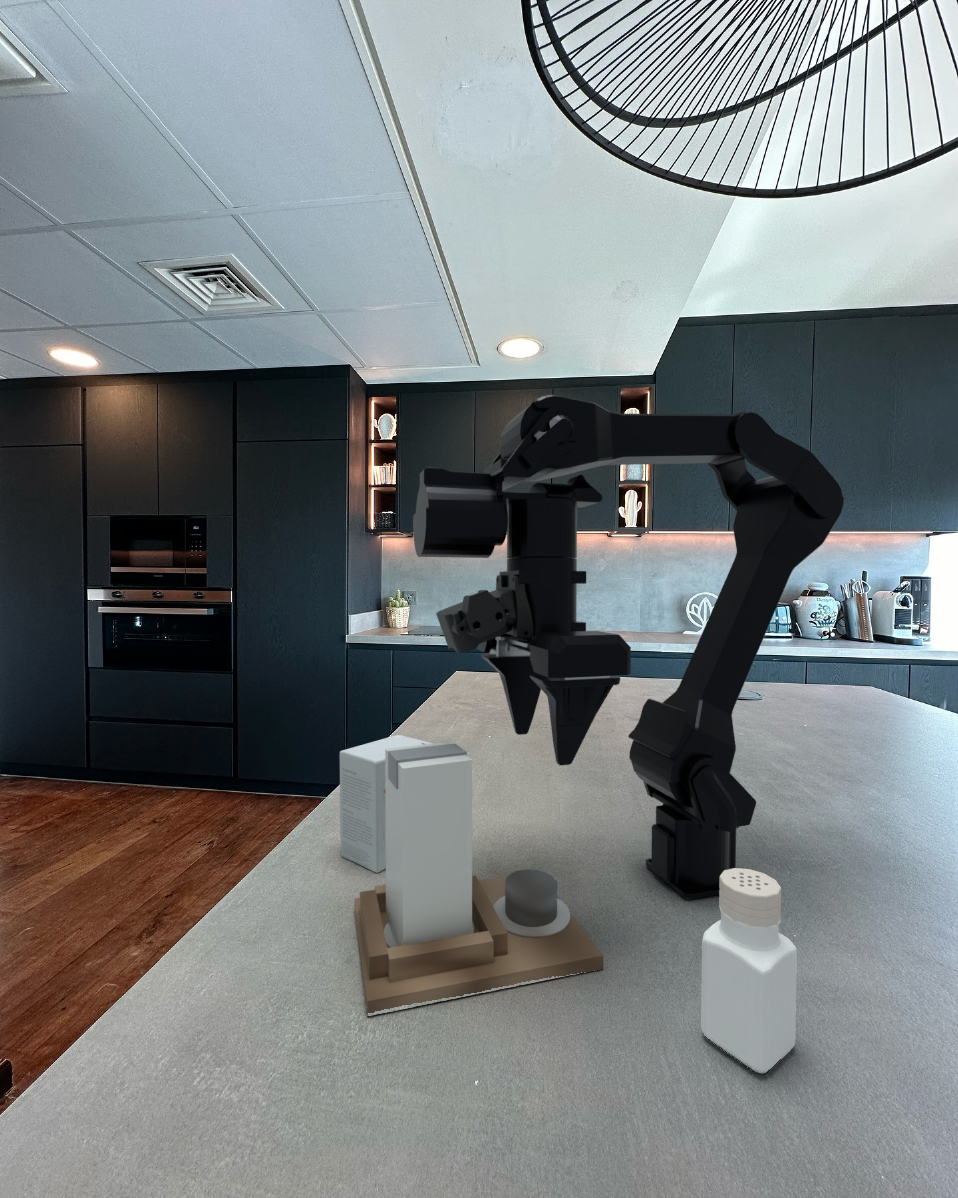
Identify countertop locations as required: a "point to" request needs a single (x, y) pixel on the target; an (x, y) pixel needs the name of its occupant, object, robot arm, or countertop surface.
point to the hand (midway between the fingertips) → (540, 748)
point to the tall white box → (428, 842)
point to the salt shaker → (749, 972)
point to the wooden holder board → (475, 944)
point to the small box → (366, 801)
